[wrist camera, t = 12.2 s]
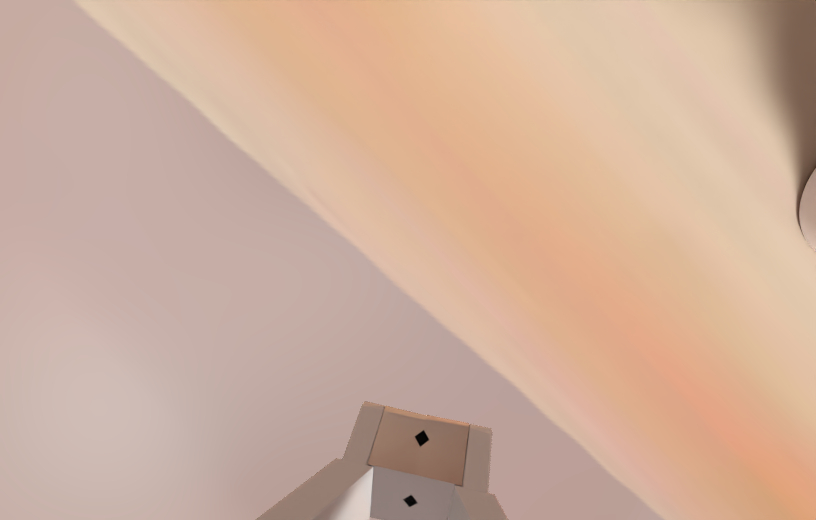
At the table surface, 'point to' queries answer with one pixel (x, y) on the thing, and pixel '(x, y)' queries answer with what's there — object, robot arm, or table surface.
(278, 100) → the table surface
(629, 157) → the table surface
